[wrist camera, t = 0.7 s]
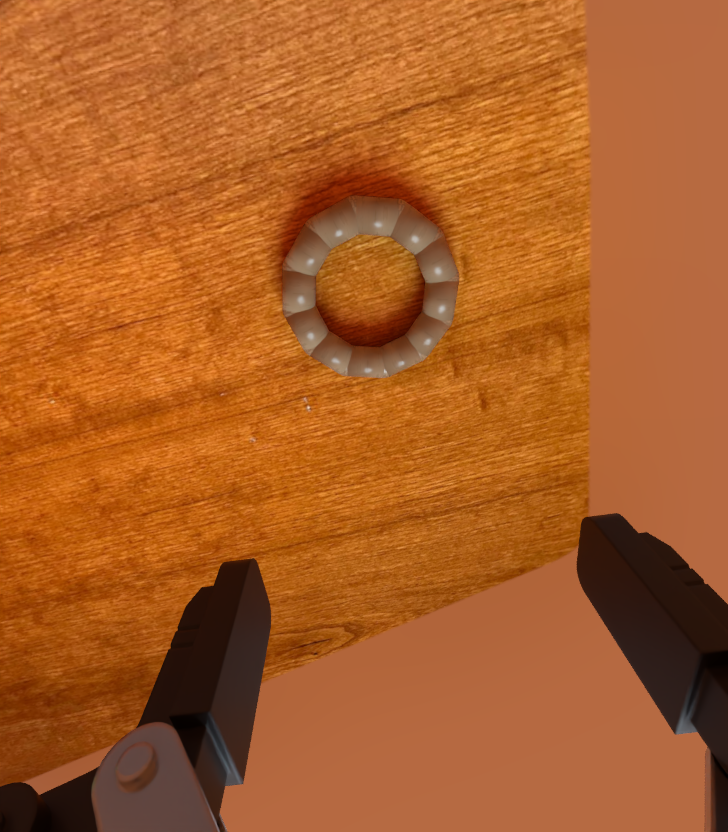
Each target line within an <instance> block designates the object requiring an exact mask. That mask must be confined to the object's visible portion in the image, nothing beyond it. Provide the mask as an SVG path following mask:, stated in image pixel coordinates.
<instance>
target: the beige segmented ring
mask: <svg viewBox="0 0 728 832" xmlns="http://www.w3.org/2000/svg"><path fill="white" fill-rule="evenodd" d="M359 234H362V235H377V236H390V237H391V238H392V239H394V240H395V241H397V242H398V243H399V244H401V245H402V246H403V247H405V248H406V249H407V250H409V251H410V252H411V253H413V254H414V256H415V258H416V260H417V263H418V265H419V268H420V270H421V272H422V275H423V277H424V280H425V290H424V298H423V307H422V312H421V313H420V315H419V316H418V317H417V319H416V320H415V322H414V323H413V325H412V326H411V327H410V329H409V330H408V332H407V333H406V334H405V335H404V336H402V337H400V338H398V339H396V340H394V341H391V342H389V343H387V344H385V345H383V346H381V347H369V346H352V345H351V344H349V343H348V342H346V341H344V340H343V339H341V338H340V337H338V336H337V335H335V334H333V333H332V332H330V331H329V330H328V328H327V326H326V324H325V322H324V320H323V319H322V317H321V315H320V313H319V311H318V309H317V307H316V305H315V302H316V275H317V273H318V271H319V270H320V268H321V266H322V265H323V263H324V261H325V259H326V258H327V256H328V254H329V253H330V251H331V249H333V248H334V247H336V246H338V245H340V244H342V243H344V242H346V241H347V240H349V239H351V238H353V237H355V236H357V235H359ZM458 284H459V273H458V270H457V267H456V265H455V262H454V259H453V257H452V254H451V252H450V249H449V246H448V244H447V241H446V238H445V236H444V233H443V231H442V230H441V229H440V228H439V227H438V226H437V225H436V224H434V223H433V222H432V221H430V220H429V219H428V218H427V217H425V216H424V215H423V214H421V213H420V212H419V211H417V210H416V209H415V208H414V207H412V206H411V205H410V204H408V203H407V202H406V201H404V200H402V199H398V198H385V197H372V196H358V195H353V196H349V197H347V198H345V199H344V200H342V201H340V202H338V203H336V204H334V205H333V206H331V207H329V208H327V209H325V210H324V211H322V212H320V213H318V214H316V215H315V216H313V217H311V218H310V219H308V220H307V221H306V223H305V224H304V226H303V228H302V230H301V231H300V233H299V235H298V237H297V238H296V240H295V242H294V244H293V246H292V247H291V249H290V251H289V253H288V254H287V256H286V258H285V260H284V262H283V265H282V298H283V314H284V316H285V318H286V320H287V321H288V323H289V325H290V327H291V328H292V330H293V332H294V334H295V335H296V337H297V339H298V341H299V342H300V344H301V346H302V348H303V349H304V351H305V352H306V353H307V354H308V355H309V356H311V357H313V358H314V359H316V360H318V361H319V362H321V363H323V364H324V365H326V366H328V367H329V368H331V369H332V370H334V371H336V372H337V373H339V374H341V375H343V376H353V377H374V378H387V377H390V376H392V375H394V374H396V373H398V372H400V371H402V370H404V369H406V368H408V367H410V366H413V365H415V364H417V363H419V362H421V361H423V360H424V359H426V358H427V357H428V355H429V354H430V353H431V351H432V350H433V349H434V347H435V346H436V345H437V343H438V342H439V340H440V339H441V338H442V336H443V335H444V334H445V332H446V331H447V330H448V328H449V327H450V326H451V324H452V321H453V317H454V310H455V304H456V297H457V291H458Z"/></svg>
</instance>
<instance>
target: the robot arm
mask: <svg viewBox="0 0 728 832" xmlns="http://www.w3.org/2000/svg"><path fill="white" fill-rule="evenodd" d="M577 573H578V578H579V581H580V584H581V586H582V588H583V590H584V592H585V594H586V595H587V597H588V598H589V600H590V602H591V603H592V605H593V606H594V608H595V609H596V611H597V612H598V614H599V616H600V617H601V619H602V620H603V622H604V624H605V625H606V627H607V628H608V630H609V631H610V633H611V634H612V636H613V638H614V639H615V641H616V642H617V644H618V646H619V647H620V648H621V650H622V651H623V653H624V655H625V657H626V658H627V660H628V661H629V663H630V664H631V666H632V668H633V669H634V671H635V672H636V674H637V675H638V677H639V679H640V680H641V681H642V683H643V685H644V686H645V688H646V689H647V691H648V693H649V694H650V696H651V697H652V699H653V700H654V702H655V704H656V705H657V707H658V708H659V710H660V711H661V713H662V715H663V716H664V718H665V719H666V721H667V722H668V724H669V726H670V727H671V729H672V730H673V732H674V733H675V734H683V733H692V732H698V733H699V734H700V736H701V737H702V739H703V740H704V742H705V743H706V745H707V746H708V747H707V749H706V753H705V832H728V604H727V603H726V602H725V601H724V600H723V599H722V598H721V597H720V596H719V595H718V594H717V593H716V592H715V591H714V590H713V589H712V588H711V587H710V586H709V585H708V584H705V583H704V580H703V579H702V578H701V577H700V576H699V575H698V574H697V573H696V572H695V571H694V570H693V569H690V568H689V565H688V564H687V563H686V562H685V561H684V560H683V559H682V557H680V555H679V554H677V553H676V551H675V550H674V549H673V548H672V547H671V546H669V545H667V544H666V543H664V542H662V541H661V540H659V539H657V538H656V537H654V536H652V535H650V534H649V533H647V532H646V533H638V532H637V531H636V530H635V529H633V527H632V526H631V525H630V524H629V523H628V522H627V520H626V519H625V518H624V517H623V516H621V515H620V514H617V513H616V514H607V515H600V516H591V517H585V518H584V519H583V520H582V523H581V530H580V539H579V548H578V557H577ZM270 627H271V610H270V603H269V599H268V596H267V593H266V590H265V586H264V583H263V580H262V576H261V573H260V570H259V566H258V563H257V561H256V560H255V559H254V558H252V559H244V560H237V561H229V562H224V563H222V565H221V566H220V569H219V572H218V575H217V578H216V580H215V583H214V586H209V587H202V588H201V589H200V590H199V591H198V592H197V594H196V595H195V596H194V597H193V598H192V600H191V601H190V602H189V603H188V604H187V606H186V608H185V610H184V613H183V615H182V618H181V620H180V623H179V625H178V631H176V632H175V635H174V637H173V640H172V642H171V649H169V650H168V652H167V655H166V657H165V660H164V662H163V665H162V667H161V670H160V672H159V675H158V677H157V680H156V682H155V685H154V687H153V690H152V692H151V695H150V697H149V700H148V702H147V705H146V707H145V710H144V712H143V715H142V717H141V720H140V722H139V724H138V726H137V728H136V729H134V730H132V731H131V732H129V733H128V734H126V735H125V736H124V737H123V738H121V739H120V740H119V741H118V742H117V743H116V744H115V745H114V746H113V747H112V749H111V750H110V751H109V752H108V753H107V755H106V756H105V758H104V759H103V760H102V762H101V764H100V766H99V767H97V768H96V769H94V770H92V771H90V772H88V773H86V774H84V775H82V776H80V777H77V778H75V779H73V780H71V781H69V782H67V783H64V784H62V785H60V786H58V787H56V788H54V789H51V790H49V791H47V792H45V793H43V794H41V795H38V793H37V792H36V791H35V790H34V789H33V788H32V787H31V786H30V785H28V784H26V783H21V782H18V783H11V784H7V785H4V786H2V787H0V832H227V829H226V827H225V825H224V822H223V820H222V817H221V815H220V808H221V803H222V798H223V793H224V789H225V786H230V785H238V784H243V781H244V776H245V770H246V765H247V759H248V753H249V747H250V742H251V735H252V730H253V725H254V719H255V713H256V708H257V702H258V696H259V691H260V685H261V679H262V674H263V668H264V662H265V656H266V651H267V645H268V639H269V634H270Z"/></svg>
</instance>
